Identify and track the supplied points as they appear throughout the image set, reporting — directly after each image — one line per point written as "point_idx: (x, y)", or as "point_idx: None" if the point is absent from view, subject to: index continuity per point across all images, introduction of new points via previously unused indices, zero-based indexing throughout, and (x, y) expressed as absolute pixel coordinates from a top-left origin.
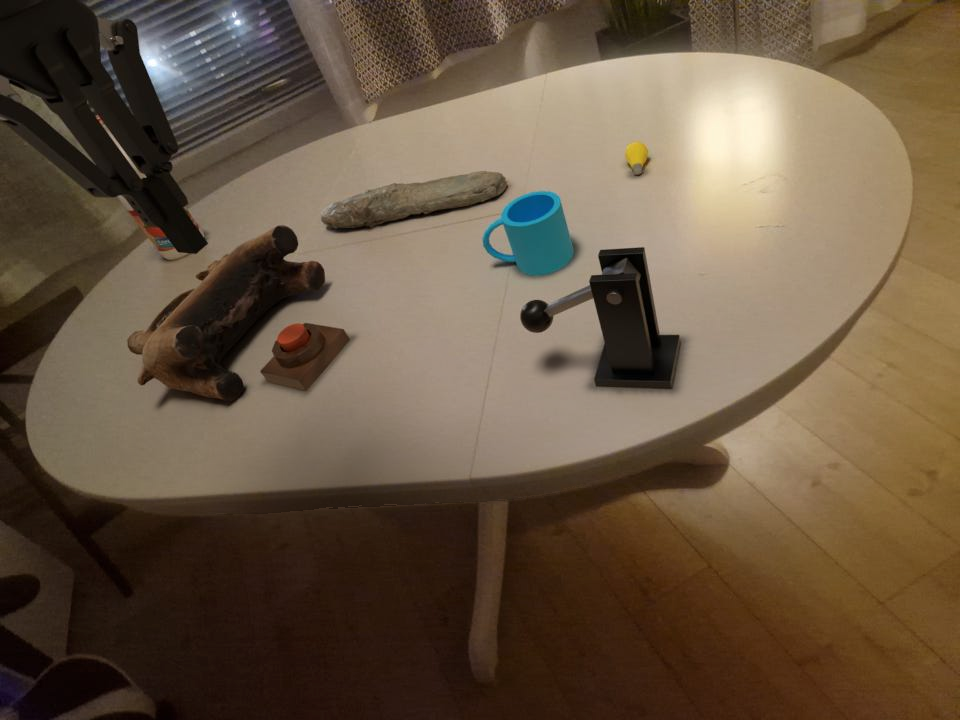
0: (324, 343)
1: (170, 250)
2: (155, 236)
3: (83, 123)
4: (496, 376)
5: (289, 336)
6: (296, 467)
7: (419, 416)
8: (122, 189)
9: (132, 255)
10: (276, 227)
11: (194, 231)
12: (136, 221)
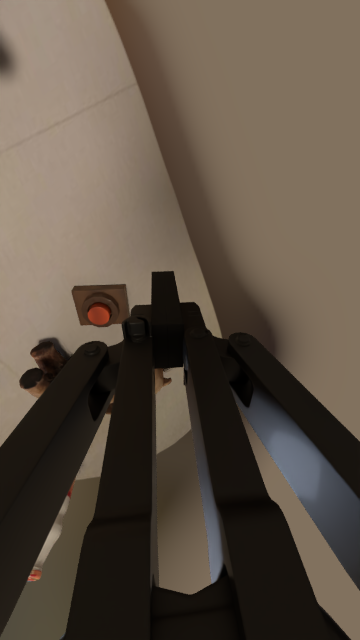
0: (89, 295)
1: None
2: None
3: (251, 456)
4: (43, 120)
5: (101, 314)
6: (176, 244)
7: (108, 173)
8: (218, 343)
9: (87, 476)
10: (26, 388)
11: (158, 280)
12: (72, 489)
